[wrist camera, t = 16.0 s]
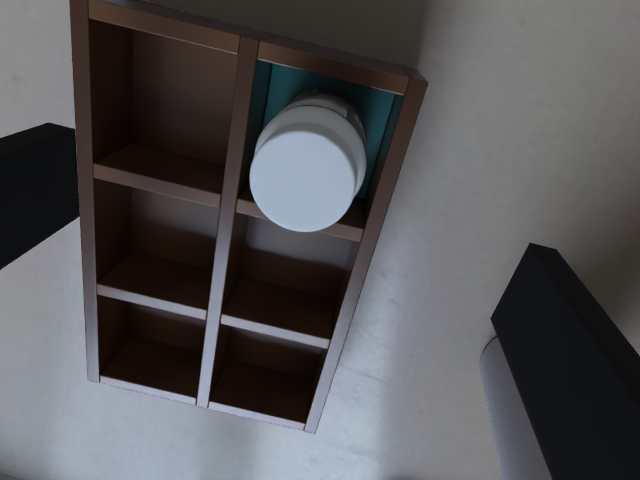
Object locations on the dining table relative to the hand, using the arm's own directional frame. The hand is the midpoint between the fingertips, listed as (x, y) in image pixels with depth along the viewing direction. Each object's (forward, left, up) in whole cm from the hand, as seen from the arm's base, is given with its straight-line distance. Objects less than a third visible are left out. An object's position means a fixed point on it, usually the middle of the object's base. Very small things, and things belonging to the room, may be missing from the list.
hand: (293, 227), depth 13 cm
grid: (+4, +7, -13) cm, 15 cm away
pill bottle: (0, 0, -12) cm, 12 cm away
